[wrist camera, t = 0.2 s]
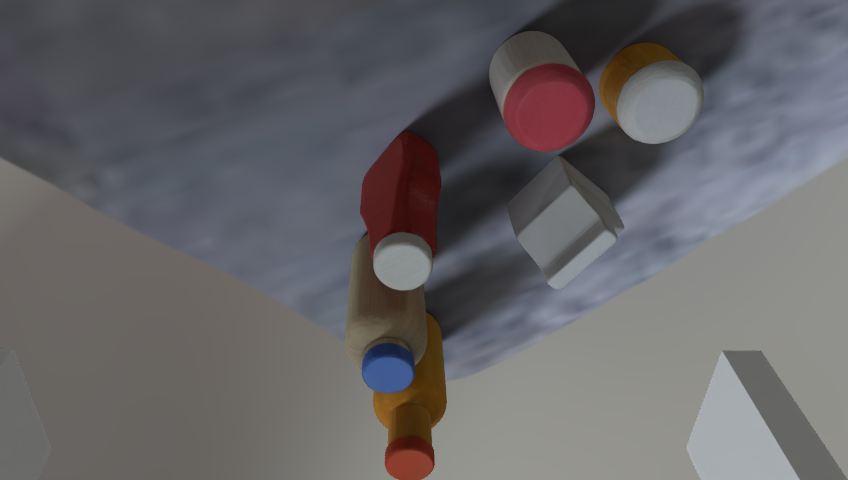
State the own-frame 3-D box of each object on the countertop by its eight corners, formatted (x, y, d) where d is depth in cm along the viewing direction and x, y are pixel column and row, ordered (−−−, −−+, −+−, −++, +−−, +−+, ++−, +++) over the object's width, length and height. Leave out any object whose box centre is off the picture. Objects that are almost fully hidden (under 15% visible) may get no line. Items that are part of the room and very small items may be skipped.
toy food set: (416, 364, 50) (422, 506, 40) (269, 273, 45) (234, 409, 35) (716, 97, 39) (828, 198, 29) (569, -57, 35) (642, 0, 24)
